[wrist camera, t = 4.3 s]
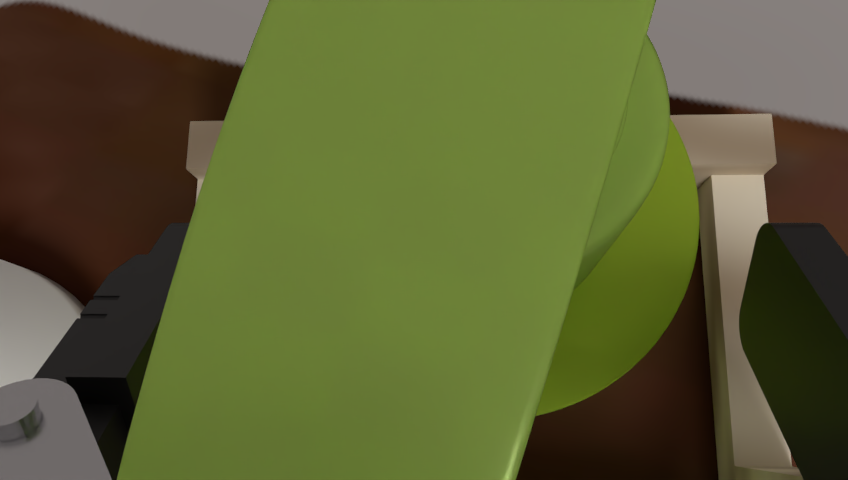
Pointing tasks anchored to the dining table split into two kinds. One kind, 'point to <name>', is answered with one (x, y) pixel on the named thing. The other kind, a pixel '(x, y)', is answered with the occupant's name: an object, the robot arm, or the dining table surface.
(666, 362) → the dining table surface
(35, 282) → the ceramic trivet
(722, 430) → the offcut rack
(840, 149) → the dining table surface
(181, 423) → the soap dispenser
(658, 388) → the dining table surface
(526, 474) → the dining table surface
